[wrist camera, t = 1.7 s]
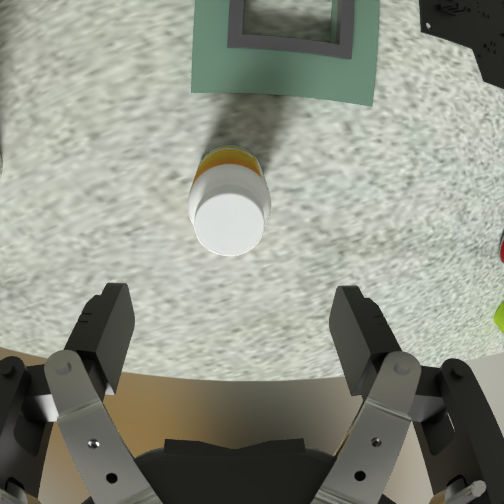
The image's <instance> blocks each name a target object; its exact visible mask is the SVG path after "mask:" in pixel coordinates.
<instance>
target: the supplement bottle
mask: <svg viewBox="0 0 504 504" xmlns="http://www.w3.org/2000/svg"><path fill="white" fill-rule="evenodd" d="M270 212H271V197H270V193H269V189H268V186H267V183H266V180H265V177H264V174H263V171H262V168H261V166H260V164H259V162H258V160H257V159H256V157H255V156H254V155H253V154H252V153H250V152H249V151H248V150H246V149H244V148H242V147H239V146H233V145H226V146H221V147H218V148H215V149H213V150H212V151H210V152H209V153H208V154H206V155H205V157H204V158H203V159H202V161H201V162H200V164H199V166H198V169H197V172H196V175H195V178H194V181H193V184H192V187H191V189H190V193H189V197H188V213H189V217H190V220H191V222H192V224H193V225H194V229H195V233H196V236H197V238H198V240H199V241H200V243H201V244H202V245H203V246H204V247H205V248H206V249H208V250H209V251H211V252H213V253H215V254H218V255H222V256H237V255H241V254H243V253H246V252H248V251H249V250H251V249H252V248H254V247H255V246H256V245H257V244H258V242H259V241H260V239H261V238H262V236H263V233H264V229H265V225H266V223H267V221H268V219H269V216H270Z"/></svg>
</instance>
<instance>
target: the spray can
mask: <svg viewBox="0 0 504 504" xmlns="http://www.w3.org/2000/svg"><path fill="white" fill-rule="evenodd" d="M1 173H2V159H1V155H0V177H1Z"/></svg>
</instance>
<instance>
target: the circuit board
mask: <svg viewBox="0 0 504 504" xmlns="http://www.w3.org/2000/svg"><path fill="white" fill-rule="evenodd" d="M419 7H420V24H421V32H422V33H426V34H429V35H433V36H436V37H439V38H442V39H445V40H448V41H451V42H454V43H457V44H460V45H463V46H465V47H468V48H471V49H472V50H473V53H474V56H475V58H476V61H477V64H478V67H479V69H480V72H481V75H482V78H483V81H484V82H486V83H489V84H492V85H494V86H497V87H500V88H502V89H504V0H419ZM426 23H429V24H430V26H431V29H430V30H428V29H427V28H426Z"/></svg>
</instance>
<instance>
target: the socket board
mask: <svg viewBox="0 0 504 504" xmlns="http://www.w3.org/2000/svg"><path fill="white" fill-rule="evenodd" d="M243 11H244V0H195V12H194V29H193V51H192V81H191V93H254V94H272V95H286V96H298V97H308V98H317V99H325V100H333V101H340V102H347V103H353V104H359V105H365V106H371V107H372V105H373V96H374V85H375V74H376V62H377V47H378V28H379V0H332V15H331V35H330V43H327V42H320V41H314V40H306V39H298V38H289V37H279V36H267V35H250V34H242V29H243Z"/></svg>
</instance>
